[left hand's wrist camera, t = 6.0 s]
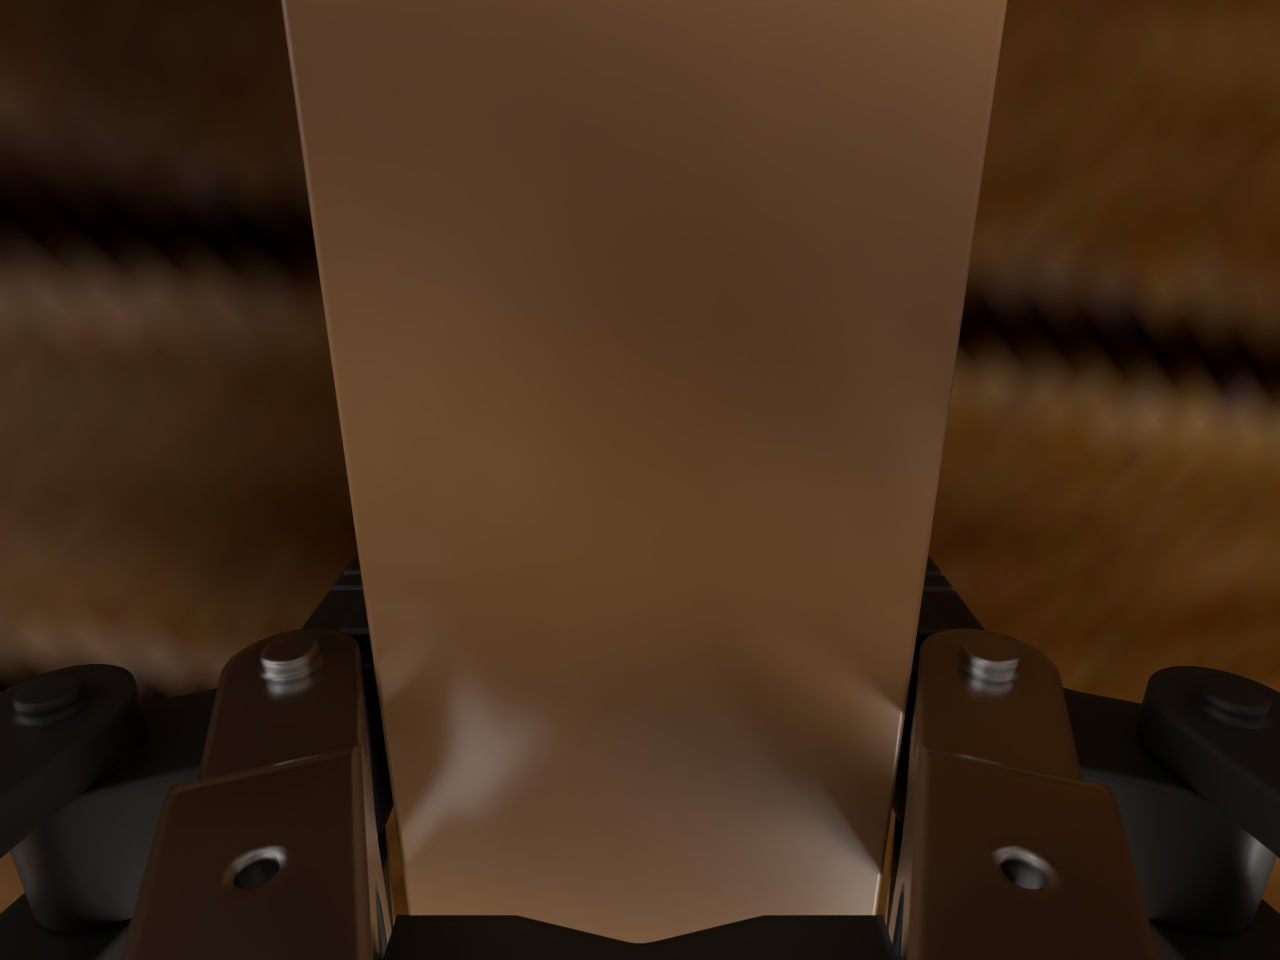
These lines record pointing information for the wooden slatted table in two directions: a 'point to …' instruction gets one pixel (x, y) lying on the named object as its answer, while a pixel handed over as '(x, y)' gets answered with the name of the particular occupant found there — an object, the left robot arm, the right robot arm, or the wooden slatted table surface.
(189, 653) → the wooden slatted table surface
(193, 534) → the wooden slatted table surface
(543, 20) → the post
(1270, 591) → the wooden slatted table surface
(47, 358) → the wooden slatted table surface
